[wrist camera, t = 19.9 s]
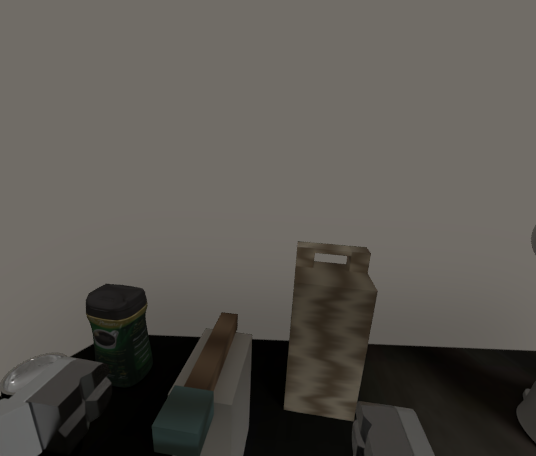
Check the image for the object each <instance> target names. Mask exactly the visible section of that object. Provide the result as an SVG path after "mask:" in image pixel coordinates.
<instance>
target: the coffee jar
mask: <svg viewBox="0 0 536 456" xmlns="http://www.w3.org/2000/svg"><path fill="white" fill-rule="evenodd" d="M146 309H147V299H146V295H145V291H144V290H143V289H142V288H137V287H132V286H124V285H114V284H105V285H103V286H101V287H99V288H97V289H96V290H94V291H92V292H90V293H89V295H88V297H87V299H86V315H87V318H88V320H89V322H90V325H91V328H92V332H93V339H94V349H95V362H100V363H105V364H108V366H109V371H110V373H109V374H108V376H107V378H108V379H109V380H110V382H111V383H112V386H115V387H122V388H127V387H131V386H133V385H135V384H137V383H138V382H140V381H141V380H142V379H143V378H144V377H145V376H146V375H147V374H148V372H149V371H150V369H151V367H152V365H153V358H152V352H151V347H150V342H149V337H148V332H147V326H146V320H145V319H146V318H145V313H146Z"/></svg>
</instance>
